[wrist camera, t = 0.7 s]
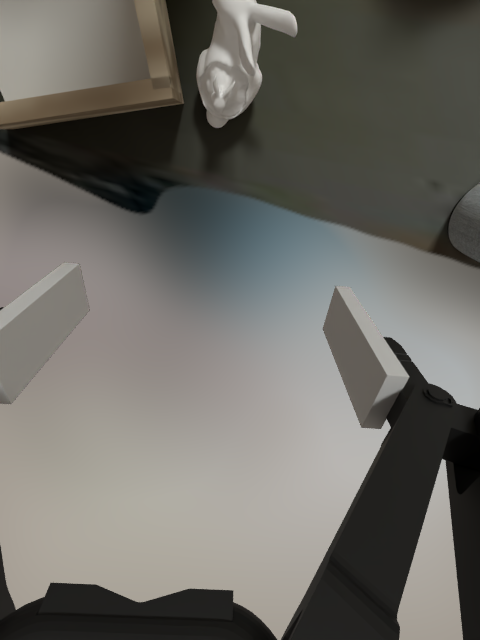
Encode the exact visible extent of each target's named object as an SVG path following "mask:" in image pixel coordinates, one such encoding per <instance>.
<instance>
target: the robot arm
mask: <svg viewBox="0 0 480 640" xmlns="http://www.w3.org/2000/svg"><path fill="white" fill-rule="evenodd" d="M89 310H90V309H89V305H88V301H87V296H86V291H85V286H84V282H83V277H82V273H81V269H80V264H78V263H67V262H64V263H63V264H61V265H60V266H58V267H57V268H56V269H54V270H53V271H52V272H51V273H49V274H48V275H47V276H45V277H44V278H43V279H41V280H40V281H39V282H37V283H36V284H35V285H33V286H32V287H31V288H29V289H28V290H27V291H25V292H24V293H23V294H22V295H20V296H19V297H17V298H16V299H15V300H13V301H12V302H11V303H10V304H8V305H7V306H6V307H4V308H3V307H2V308H0V403H3V404H12V403H13V401H14V400H15V399H16V398H17V397H18V395H19V394H20V393H21V392H22V391H23V389H24V388H25V387H26V386H27V385H28V383H29V382H30V381H31V380H32V379H33V377H34V376H35V375H36V374H37V373H38V371H39V370H40V369H41V368H42V367H43V366H44V364H45V363H46V362H47V361H48V359H49V358H50V357H51V356H52V355H53V353H54V352H55V351H56V350H57V349H58V347H59V346H60V345H61V344H62V343H63V341H64V340H65V339H66V338H67V337H68V335H69V334H70V333H71V332H72V331H73V330H74V328H75V327H76V326H77V325H78V324H79V322H80V321H81V320H82V319H83V318H84V316H85V315H86V314H87V313H88V312H89ZM323 331H324V333H325V336H326V339H327V341H328V344H329V346H330V349H331V351H332V354H333V356H334V359H335V362H336V364H337V367H338V369H339V372H340V374H341V377H342V379H343V382H344V384H345V387H346V389H347V392H348V395H349V397H350V400H351V402H352V405H353V407H354V410H355V412H356V415H357V417H358V420H359V423H360V425H361V427H362V428H375V429H381V428H382V426H383V424H384V422H385V420H386V419H387V420H388V422H389V424H390V426H391V429H390V431H389V432H388V434H387V436H386V437H385V439H384V441H383V443H382V445H381V448H380V450H379V452H378V454H377V456H376V457H375V459H374V461H373V463H372V465H371V467H370V469H369V471H368V473H367V475H366V477H365V479H364V481H363V483H362V485H361V487H360V489H359V491H358V493H357V494H356V497H355V498H354V500H353V502H352V504H351V506H350V508H349V510H348V512H347V514H346V516H345V518H344V520H343V522H342V524H341V526H340V528H339V529H338V531H337V533H336V535H335V537H334V539H333V541H332V543H331V545H330V547H329V549H328V551H327V553H326V555H325V557H324V559H323V561H322V563H321V565H320V566H319V569H318V570H317V572H316V575H315V576H314V578H313V580H312V582H311V584H310V586H309V588H308V590H307V592H306V594H305V596H304V598H303V599H302V601H301V603H300V605H299V607H298V608H297V610H296V612H295V614H294V616H293V618H292V620H291V622H290V623H289V625H288V627H287V629H286V631H285V633H284V635H283V637H282V639H281V640H399V633H400V626H399V624H398V622H397V612H398V608H399V604H400V601H401V598H402V594H403V591H404V587H405V584H406V580H407V577H408V574H409V570H410V567H411V563H412V560H413V556H414V553H415V549H416V546H417V543H418V539H419V536H420V532H421V529H422V525H423V522H424V519H425V515H426V512H427V508H428V505H429V501H430V498H431V494H432V491H433V488H434V484H435V481H436V477H437V474H438V470H439V467H440V463H441V460H442V459H444V460H446V469H447V479H448V488H449V499H450V509H451V519H452V530H453V540H454V550H455V559H456V570H457V580H458V591H459V600H460V611H461V621H462V631H463V640H480V408H479V410H476V409H473V408H469V407H466V406H463V405H459V404H456V401H455V400H454V398H453V397H452V396H451V395H450V394H449V393H448V392H446V391H445V390H443V389H442V388H440V387H438V386H435V385H433V384H428V382H427V381H426V380H425V378H424V377H423V375H422V374H421V373H420V371H419V370H418V368H417V367H416V366H415V364H414V363H413V362H411V359H410V357H409V356H408V355H407V353H406V352H405V350H404V349H403V348H402V346H401V345H400V344H398V343H397V342H396V341H395V340H393V339H392V338H387V337H383V336H382V335H381V333H380V332H379V330H378V329H377V327H376V326H375V324H374V323H373V321H372V320H371V318H370V317H369V315H368V314H367V312H366V311H365V310H364V308H363V306H362V305H361V303H360V302H359V300H358V299H357V297H356V296H355V294H354V293H353V291H352V290H351V288H350V287H343V286H335V289H334V293H333V296H332V300H331V303H330V306H329V310H328V313H327V316H326V320H325V323H324V327H323ZM0 640H277V639H276V637H275V636H274V635H273V633H272V632H271V630H270V629H269V628H268V627H267V626H266V625H265V624H264V623H263V622H262V621H261V620H260V619H259V618H258V617H257V616H256V615H254V614H253V613H252V612H250V611H249V610H247V609H246V608H244V607H243V606H240V605H238V604H236V603H234V602H233V591H230V590H207V589H187V590H183V591H180V592H177V593H173V594H170V595H166V596H163V597H160V598H157V599H153V600H149V601H146V602H141V603H140V602H135V601H133V600H130V599H128V598H126V597H123V596H121V595H119V594H116V593H114V592H112V591H110V590H107V589H105V588H103V587H100V586H98V585H91V584H67V583H50V586H49V588H48V590H47V593H46V595H45V597H43V598H40V599H38V600H36V601H33V602H31V603H28V604H26V605H24V606H23V607H21V608H19V609H17V610H16V609H15V606H14V603H13V600H12V598H11V596H10V594H9V591H8V588H7V585H6V580H5V573H4V567H3V560H2V553H1V547H0Z"/></svg>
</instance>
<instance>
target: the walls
mask: <svg viewBox="0 0 480 640" xmlns="http://www.w3.org/2000/svg"><path fill="white" fill-rule="evenodd" d="M134 3H135V8H136V13H137V17H138V22H139V26H140V31H141V35H142V40H143V44H144V49H145V54H146V58H147V63H148V67H149V72H150V76H151V78H150V79H144V80H138V81H131V82H125V83H119V84H113V85H106V86H100V87H94V88H87V89H81V90H75V91H68V92H62V93H56V94H49V95H43V96H37V97H31V98H24V99H18V100H12V101H5V102H0V129H19V128H26V127H32V126H39V125H45V124H52V123H59V122H65V121H72V120H78V119H85V118H92V117H98V116H105V115H111V114H118V113H125V112H131V111H138V110H145V109H151V108H158V107H164V106H171V105H178V104H184V100H183V95H182V89H181V84H180V78H179V72H178V67H177V61H176V56H175V50H174V44H173V39H172V33H171V28H170V22H169V16H168V11H167V5H166V0H134Z"/></svg>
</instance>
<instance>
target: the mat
mask: <svg viewBox="0 0 480 640" xmlns="http://www.w3.org/2000/svg"><path fill="white" fill-rule="evenodd" d="M150 78H151V76H150V72H149V67H148V63H147V58H146V54H145V49H144V44H143V40H142V35H141V31H140V26H139V22H138V17H137V13H136V8H135V3H134V0H0V91H1V93H2V95H3V98H4V100H5V101H12V100H18V99H24V98H31V97H37V96H43V95H49V94H56V93H62V92H68V91H75V90H81V89H87V88H94V87H100V86H106V85H113V84H119V83H125V82H131V81H138V80H144V79H150Z"/></svg>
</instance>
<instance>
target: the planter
mask: <svg viewBox="0 0 480 640" xmlns="http://www.w3.org/2000/svg"><path fill="white" fill-rule="evenodd" d="M448 234H449V239H450V241H451V243H452V245H453V246H454V247H455V248H456V249H457V250H459V251H460V252H462V253H463V254H465V255H467V256H468V257H470V258H472V259H474V260H476V261H478V262H479V263H480V183H479V184H478V185H476V186H475V187H474V188H472V189H471V190H470V191H469V192H468V193H467V194H466V195H465V196H464V197H463V198H462V199H461V200H460V202H459V203H458V204H457V206H456V207H455V209H454V211H453V213H452V215H451V218H450V221H449V227H448Z"/></svg>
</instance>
